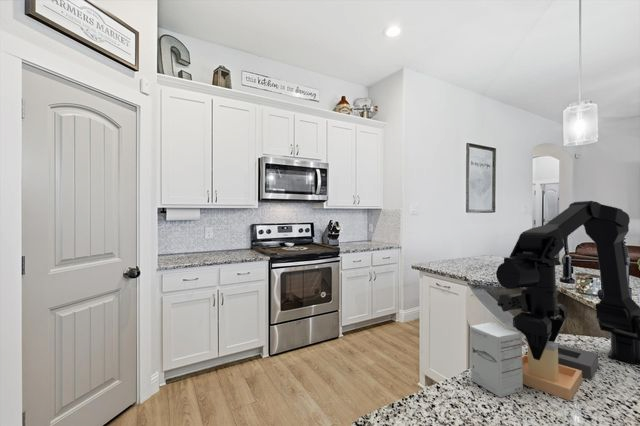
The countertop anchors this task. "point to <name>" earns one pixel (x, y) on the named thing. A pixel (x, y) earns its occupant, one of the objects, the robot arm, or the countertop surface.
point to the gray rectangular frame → (578, 360)
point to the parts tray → (561, 388)
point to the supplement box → (496, 358)
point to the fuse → (545, 363)
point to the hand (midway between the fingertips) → (542, 353)
